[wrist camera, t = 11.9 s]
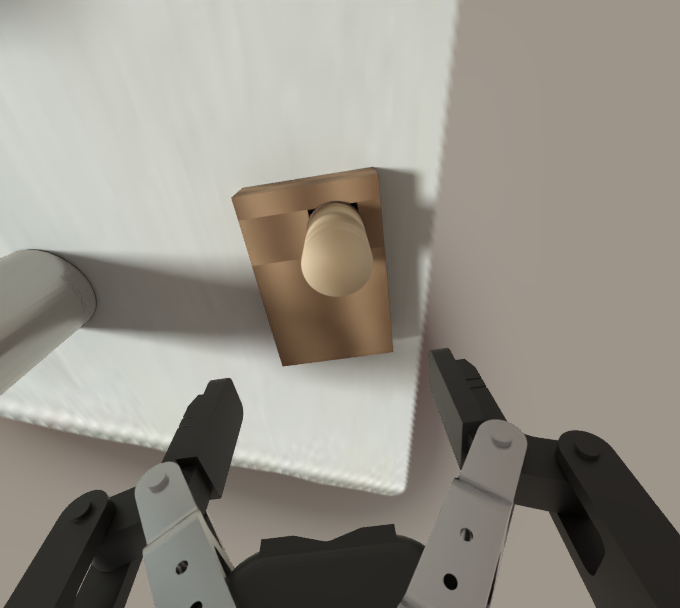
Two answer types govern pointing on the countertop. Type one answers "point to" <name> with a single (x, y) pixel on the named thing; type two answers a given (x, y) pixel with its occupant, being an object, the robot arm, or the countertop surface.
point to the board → (287, 277)
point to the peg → (336, 250)
